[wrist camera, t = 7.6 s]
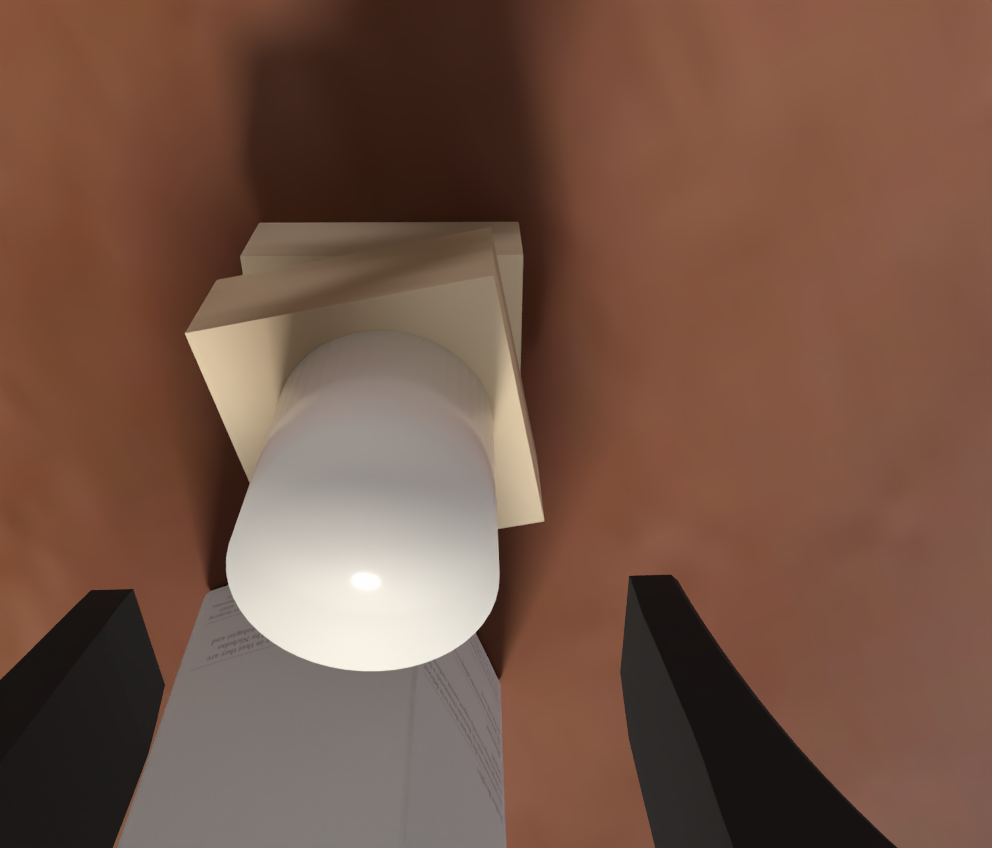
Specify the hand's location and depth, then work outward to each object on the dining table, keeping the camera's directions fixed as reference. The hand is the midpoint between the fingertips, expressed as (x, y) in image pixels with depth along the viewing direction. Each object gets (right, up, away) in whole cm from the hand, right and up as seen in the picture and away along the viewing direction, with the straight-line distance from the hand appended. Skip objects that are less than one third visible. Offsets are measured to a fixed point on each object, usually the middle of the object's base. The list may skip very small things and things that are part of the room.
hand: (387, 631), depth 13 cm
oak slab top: (-1, +4, +7) cm, 8 cm away
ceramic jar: (-1, +3, +5) cm, 6 cm away
